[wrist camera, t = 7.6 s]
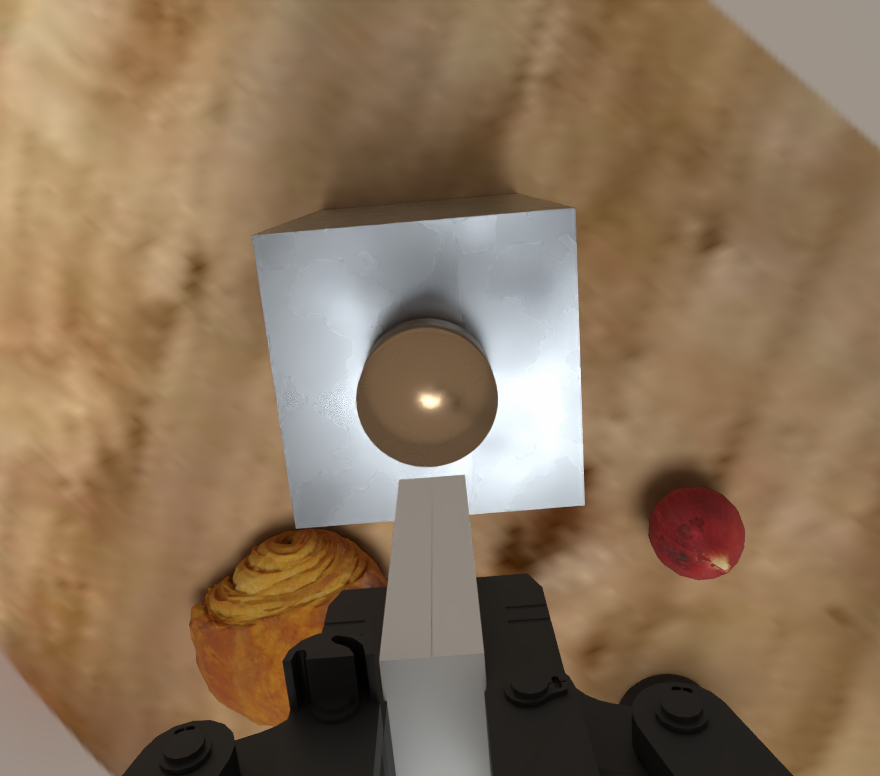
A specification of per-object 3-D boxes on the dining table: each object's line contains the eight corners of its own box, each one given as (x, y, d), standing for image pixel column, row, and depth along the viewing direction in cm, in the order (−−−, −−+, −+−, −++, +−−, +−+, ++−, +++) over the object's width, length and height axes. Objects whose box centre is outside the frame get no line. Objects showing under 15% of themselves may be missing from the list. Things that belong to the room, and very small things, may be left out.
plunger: (494, 223, 45) (546, 264, 25) (503, 365, 47) (556, 505, 28) (348, 236, 45) (285, 287, 25) (364, 377, 47) (318, 524, 28)
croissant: (390, 501, 54) (384, 538, 46) (419, 700, 56) (419, 769, 48) (191, 528, 54) (151, 570, 46) (228, 727, 56) (196, 800, 48)
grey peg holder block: (516, 193, 46) (575, 207, 28) (526, 381, 49) (584, 505, 31) (321, 209, 46) (251, 235, 28) (344, 396, 49) (295, 528, 31)
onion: (635, 547, 53) (670, 611, 45) (636, 471, 51) (672, 525, 43) (717, 542, 53) (767, 605, 45) (721, 466, 51) (773, 518, 43)
